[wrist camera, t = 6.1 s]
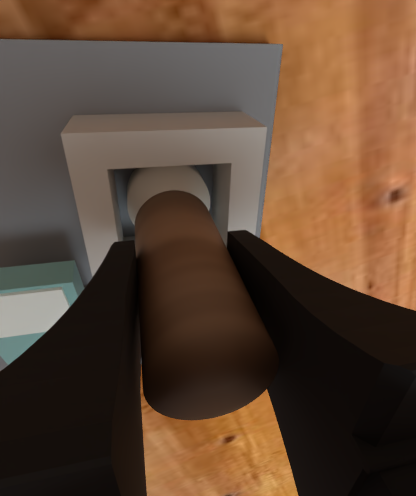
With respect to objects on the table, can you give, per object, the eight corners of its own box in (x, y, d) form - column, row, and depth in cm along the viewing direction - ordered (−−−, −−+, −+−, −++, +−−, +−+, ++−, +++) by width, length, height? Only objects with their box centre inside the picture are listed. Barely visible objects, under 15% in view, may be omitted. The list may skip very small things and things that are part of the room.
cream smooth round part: (203, 222, 17) (209, 237, 15) (131, 228, 16) (132, 244, 15) (204, 152, 15) (211, 163, 13) (122, 156, 14) (122, 167, 13)
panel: (240, 331, 24) (261, 384, 20) (3, 366, 21) (-22, 436, 17) (269, 43, 14) (319, 46, 11) (-163, 35, 11) (-301, 35, 8)
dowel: (211, 251, 14) (273, 403, 8) (140, 263, 13) (153, 431, 8) (209, 185, 12) (284, 316, 6) (128, 195, 12) (131, 346, 6)
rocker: (104, 347, 20) (104, 368, 19) (24, 358, 19) (20, 381, 18) (74, 260, 14) (72, 285, 13) (-43, 271, 13) (-54, 299, 12)
